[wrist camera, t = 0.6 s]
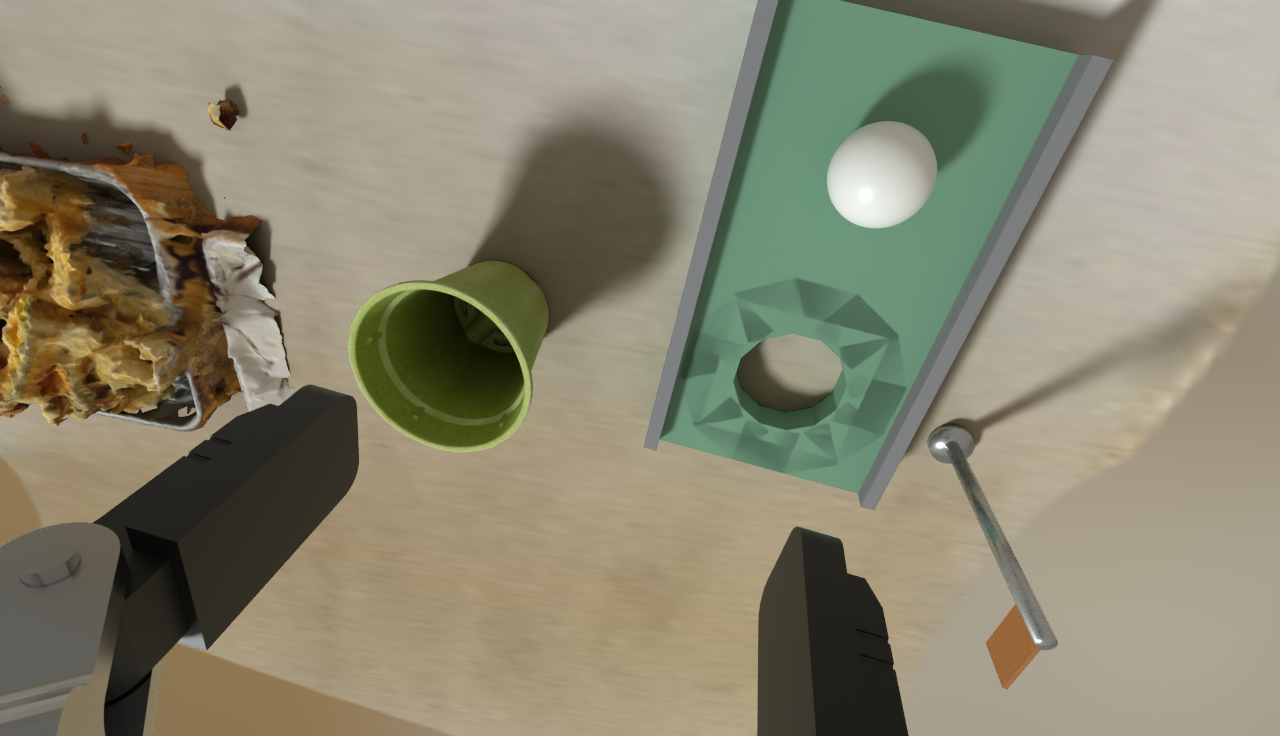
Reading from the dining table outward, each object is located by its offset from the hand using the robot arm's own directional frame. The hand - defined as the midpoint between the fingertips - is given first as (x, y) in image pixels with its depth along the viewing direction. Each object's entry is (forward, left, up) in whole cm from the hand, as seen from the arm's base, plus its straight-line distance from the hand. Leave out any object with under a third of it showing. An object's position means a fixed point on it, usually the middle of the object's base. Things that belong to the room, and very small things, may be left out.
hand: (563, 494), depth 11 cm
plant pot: (+9, -10, -25) cm, 28 cm away
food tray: (+15, -42, -25) cm, 52 cm away
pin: (+10, +18, -24) cm, 32 cm away
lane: (+2, +8, -24) cm, 26 cm away
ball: (-4, +8, -20) cm, 22 cm away
